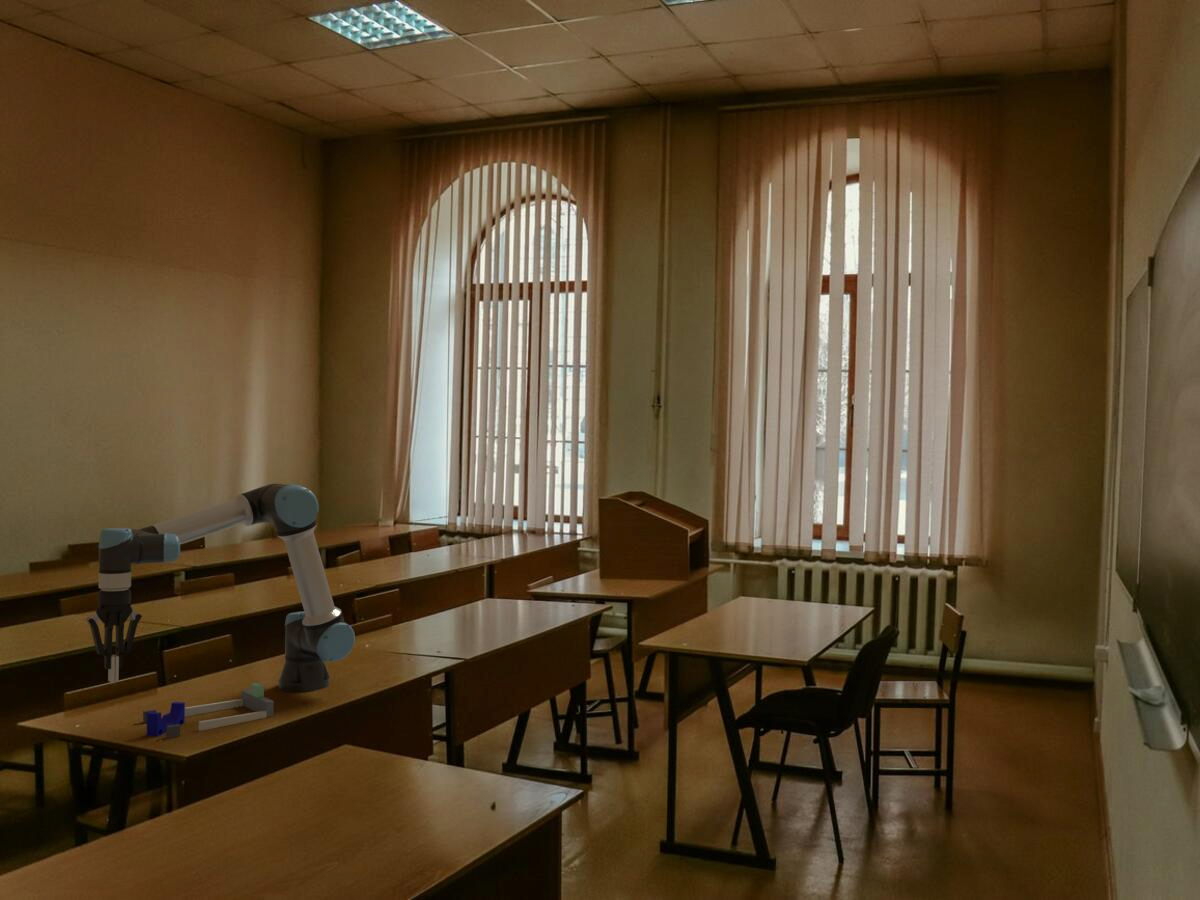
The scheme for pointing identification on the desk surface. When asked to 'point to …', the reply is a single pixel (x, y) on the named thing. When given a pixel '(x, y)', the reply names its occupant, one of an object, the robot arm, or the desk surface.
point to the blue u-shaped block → (165, 719)
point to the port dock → (249, 699)
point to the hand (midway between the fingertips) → (113, 681)
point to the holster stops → (171, 730)
